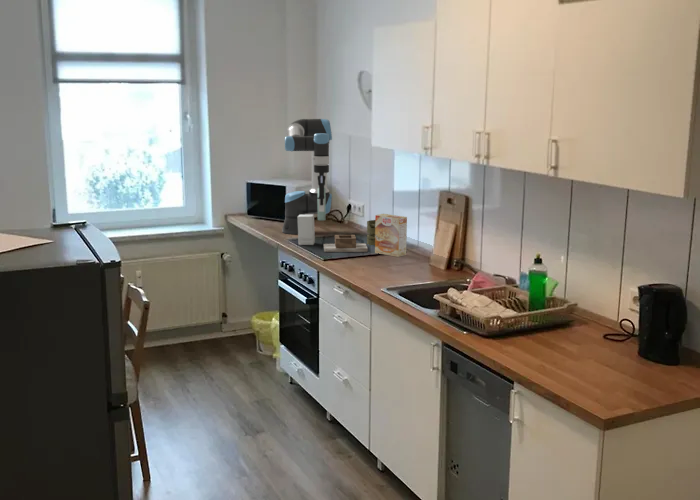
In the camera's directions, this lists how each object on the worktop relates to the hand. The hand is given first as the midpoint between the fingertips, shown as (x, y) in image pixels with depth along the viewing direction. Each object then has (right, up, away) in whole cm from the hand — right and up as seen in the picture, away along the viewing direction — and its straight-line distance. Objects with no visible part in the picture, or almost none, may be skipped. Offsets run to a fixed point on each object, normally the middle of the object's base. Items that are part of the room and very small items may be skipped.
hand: (321, 210), depth 385 cm
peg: (0, -5, +1) cm, 5 cm away
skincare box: (-9, -17, +20) cm, 28 cm away
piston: (+29, -17, +22) cm, 40 cm away
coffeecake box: (+35, -22, -3) cm, 41 cm away
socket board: (+12, -19, +8) cm, 24 cm away
